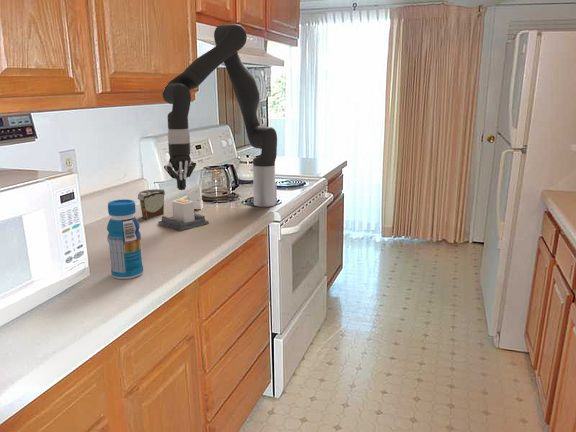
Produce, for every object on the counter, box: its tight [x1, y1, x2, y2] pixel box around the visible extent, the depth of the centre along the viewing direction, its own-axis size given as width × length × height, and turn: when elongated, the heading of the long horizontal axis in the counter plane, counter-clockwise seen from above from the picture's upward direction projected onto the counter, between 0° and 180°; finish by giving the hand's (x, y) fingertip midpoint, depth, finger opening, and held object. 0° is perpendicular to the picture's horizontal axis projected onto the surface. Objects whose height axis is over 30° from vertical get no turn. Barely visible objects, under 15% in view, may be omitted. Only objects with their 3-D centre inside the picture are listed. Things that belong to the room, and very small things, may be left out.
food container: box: [137, 188, 166, 221], centre depth 189 cm, size 12×6×10 cm, turn 152°
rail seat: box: [157, 212, 210, 232], centre depth 179 cm, size 13×13×3 cm
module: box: [171, 198, 195, 223], centre depth 179 cm, size 4×7×7 cm, turn 49°
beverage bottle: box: [106, 198, 144, 280], centre depth 128 cm, size 8×8×20 cm
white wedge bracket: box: [186, 185, 204, 210], centre depth 202 cm, size 4×10×9 cm, turn 84°
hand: (181, 189), depth 176 cm, fingers closed
